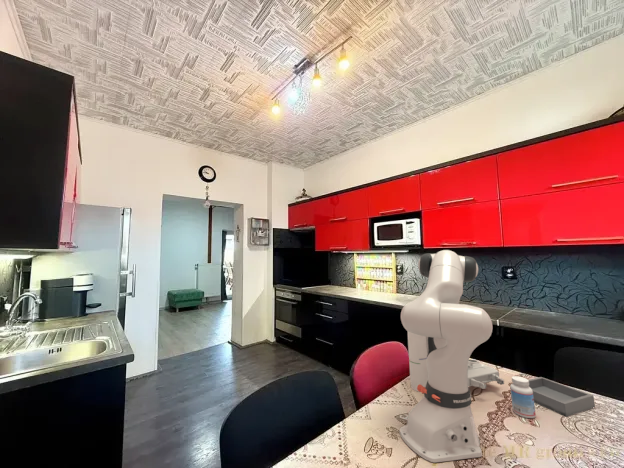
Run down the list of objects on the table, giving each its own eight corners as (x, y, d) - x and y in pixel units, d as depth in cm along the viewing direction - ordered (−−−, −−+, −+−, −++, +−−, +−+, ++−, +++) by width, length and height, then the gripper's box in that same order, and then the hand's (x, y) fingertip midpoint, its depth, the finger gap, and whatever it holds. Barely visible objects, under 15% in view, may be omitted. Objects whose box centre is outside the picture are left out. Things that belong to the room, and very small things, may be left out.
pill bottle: (540, 420, 83) (536, 383, 85) (519, 418, 84) (515, 382, 86) (528, 409, 89) (524, 375, 90) (509, 407, 90) (505, 374, 92)
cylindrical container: (432, 392, 102) (427, 327, 105) (414, 392, 102) (410, 328, 105) (424, 383, 109) (420, 323, 112) (408, 384, 109) (404, 324, 112)
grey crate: (566, 416, 85) (564, 404, 85) (515, 394, 100) (514, 383, 100) (595, 407, 90) (593, 395, 90) (542, 387, 105) (540, 376, 105)
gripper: (442, 366, 107) (472, 379, 94) (478, 359, 113) (511, 371, 100) (444, 381, 106) (474, 398, 93) (480, 374, 112) (513, 388, 99)
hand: (494, 384), depth 96 cm, fingers open, 8 cm apart
